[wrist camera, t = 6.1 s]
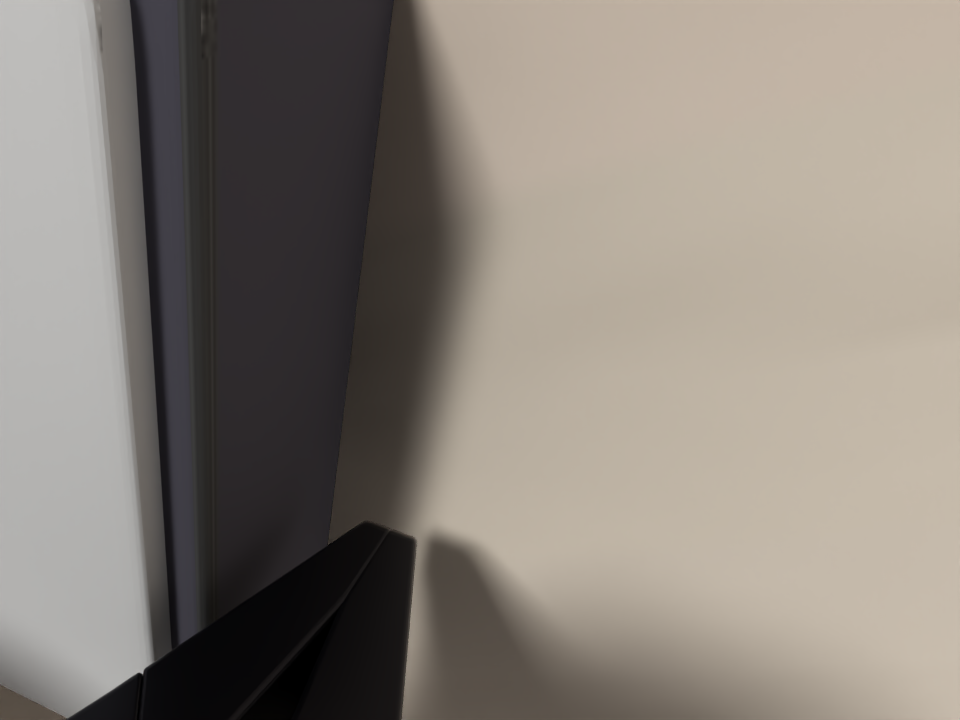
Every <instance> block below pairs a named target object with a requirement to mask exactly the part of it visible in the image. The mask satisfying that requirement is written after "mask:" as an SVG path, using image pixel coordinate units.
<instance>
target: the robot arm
mask: <svg viewBox="0 0 960 720" xmlns="http://www.w3.org/2000/svg"><path fill="white" fill-rule="evenodd" d="M416 547H417V541H416V539H415V538H414V537H413V536H410V535H407V534H404V533H402V532H399V531H396V530H392V529H390V528H388V527H385V526H383V525H380V524H377V523H374V522H372V521H364V522H362V523H361V524H359V525H358V526H356V527H355V528H353V529H352V530H350V531H349V532H347V533H346V534H344V535H343V536H341V537H340V538H338V539H337V540H335V541H334V542H332V543H331V544H329V545H328V546H326V547H325V548H323V549H322V550H320V551H319V552H317V553H316V554H314V555H313V556H311V557H310V558H308V559H307V560H305V561H304V562H302V563H301V564H299V565H298V566H296V567H295V568H293V569H292V570H290V571H289V572H287V573H286V574H284V575H283V576H282V577H280V578H279V579H277V580H276V581H274V582H273V583H271V584H270V585H268V586H267V587H265V588H264V589H262V590H261V591H259V592H258V593H256V594H255V595H253V596H252V597H250V598H249V599H247V600H246V601H244V602H243V603H241V604H240V605H238V606H237V607H235V608H234V609H232V610H231V611H229V612H228V613H226V614H225V615H223V616H222V617H220V618H219V619H217V620H216V621H214V622H213V623H211V624H210V625H208V626H207V627H205V628H204V629H202V630H201V631H199V632H198V633H197V634H195V635H194V636H192V637H191V638H189V639H188V640H186V641H185V642H183V643H182V644H180V645H179V646H177V647H176V648H174V649H173V650H171V651H170V652H168V653H167V654H165V655H164V656H162V657H161V658H159V659H158V660H156V661H155V662H153V663H152V664H150V665H149V666H147V667H146V668H145V669H144V671H143V674H142V673H136V674H135V675H133V676H132V677H130V678H129V679H127V680H126V681H124V682H123V683H122V684H120V685H119V686H117V687H116V688H114V689H113V690H111V691H110V692H108V693H107V694H105V695H103V696H102V697H100V698H99V699H97V700H96V701H94V702H92V703H91V704H89V705H88V706H86V707H85V708H83V709H81V710H80V711H78V712H77V713H75V714H74V715H72V716H70V717H69V718H67V719H66V720H401V719H402V707H403V696H404V684H405V673H406V661H407V650H408V638H409V627H410V615H411V604H412V593H413V581H414V570H415V558H416Z"/></svg>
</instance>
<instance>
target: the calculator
mask: <svg viewBox="0 0 960 720" xmlns="http://www.w3.org/2000/svg"><path fill="white" fill-rule="evenodd" d="M393 1H394V0H0V685H2V686H4V687H6V688H8V689H10V690H12V691H14V692H16V693H18V694H20V695H22V696H24V697H26V698H28V699H30V700H32V701H34V702H36V703H38V704H40V705H42V706H44V707H46V708H48V709H50V710H52V711H53V712H55V713H57V714H59V715H61V716H63V717H65V718H69V717H70V716H72V715H74V714H75V713H77V712H78V711H80V710H81V709H83V708H85V707H86V706H88V705H89V704H91V703H92V702H94V701H96V700H97V699H99V698H100V697H102V696H103V695H105V694H107V693H108V692H110V691H111V690H113V689H114V688H116V687H117V686H119V685H120V684H122V683H123V682H124V681H126V680H127V679H129V678H130V677H132V676H133V675H135V674H136V673H142V674H143V671H144V669H145V668H146V667H147V666H149V665H150V664H152V663H153V662H155V661H156V660H158V659H159V658H161V657H162V656H164V655H165V654H167V653H168V652H170V651H171V650H173V649H174V648H176V647H177V646H179V645H180V644H182V643H183V642H185V641H186V640H188V639H189V638H191V637H192V636H194V635H195V634H197V633H198V632H199V631H201V630H202V629H204V628H205V627H207V626H208V625H210V624H211V623H213V622H214V621H216V620H217V619H219V618H220V617H222V616H223V615H225V614H226V613H228V612H229V611H231V610H232V609H234V608H235V607H237V606H238V605H240V604H241V603H243V602H244V601H246V600H247V599H249V598H250V597H252V596H253V595H255V594H256V593H258V592H259V591H261V590H262V589H264V588H265V587H267V586H268V585H270V584H271V583H273V582H274V581H276V580H277V579H279V578H280V577H282V576H283V575H284V574H286V573H287V572H289V571H290V570H292V569H293V568H295V567H296V566H298V565H299V564H301V563H302V562H304V561H305V560H307V559H308V558H310V557H311V556H313V555H314V554H316V553H317V552H319V551H320V550H322V549H323V548H325V547H326V546H327V545H328V536H329V528H330V520H331V512H332V504H333V495H334V487H335V479H336V471H337V462H338V454H339V446H340V438H341V429H342V421H343V413H344V405H345V396H346V388H347V380H348V372H349V363H350V355H351V347H352V339H353V330H354V322H355V314H356V306H357V298H358V289H359V281H360V273H361V265H362V256H363V248H364V240H365V232H366V223H367V215H368V207H369V199H370V190H371V182H372V174H373V166H374V157H375V149H376V141H377V133H378V124H379V116H380V108H381V100H382V91H383V83H384V75H385V67H386V58H387V50H388V42H389V34H390V25H391V17H392V9H393Z"/></svg>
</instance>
